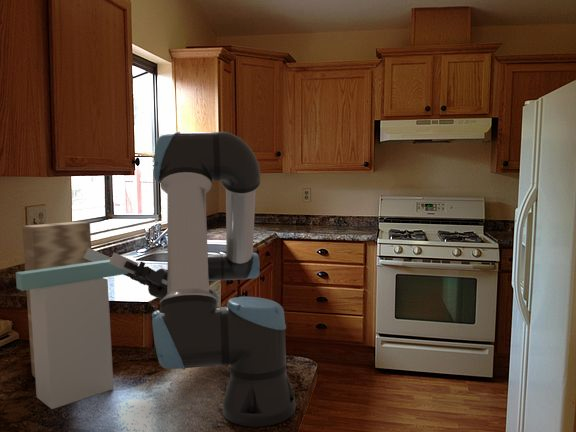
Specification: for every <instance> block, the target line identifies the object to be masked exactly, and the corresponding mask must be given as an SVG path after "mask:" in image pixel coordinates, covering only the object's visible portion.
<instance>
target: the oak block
mask: <svg viewBox="0 0 576 432" xmlns="http://www.w3.org/2000/svg"><path fill="white" fill-rule="evenodd" d="M21 227H22V239H23V240H22V242H23V257H24V259H23V260H24V271H30V270H37V269H44V268H52V267H59V266H66V265H74V264H81V263H88V262H92V261H89V260H87V259H85V258H83V257H84V255H85V253H86V251H87V249H88V248H91V249H92V237H91V222H89V221H88V222H87V221H86V222H85V221H67V222H56V223H54V222H53V223H43V224H32V225H22V226H21ZM26 303H27V317H28V318H27V319H28V335H29V348H30V364H31V366H30V367H31V375H32V376H33V377H34V378H35V363H34V348H33V333H32V317H31V302H30V290H26Z"/></svg>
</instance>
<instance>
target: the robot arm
mask: <svg viewBox="0 0 576 432" xmlns="http://www.w3.org/2000/svg"><path fill="white" fill-rule="evenodd" d="M153 176H154V177H153V178H154V181H155V182H156V183H159V184H160V188H161V190H162V191H163V192H164V193H166V194H167V199H166V200H167V205H166V206H167V217H166V219H167V226H166V227H167V228H166V229H167V233H166V234H167V246H166V247H167V251H166V252H167V268H163V267H162V268H159V269H158V270H155V269H152V268H150V267H149V266H145V265H146V263H145V262H144V261H140V262H139V263H138V262H136V261H134V260H133V259H129V258H127V257H126V256H123V255H121V254H119V253H117V252H113V253H112V255H111V257H110V256H108V255H105V254H103V253H102V252H100V251H97V250H94V249H93V248H92V247H91V248H88V249H87V251H86V253H85V255H84V257H83V258H85V259H87V260H89V261H92V262H95V261H103V260H110V262H109V264H111V265H113V266H116V267H118V268H120V269H122V270H125V271H127V272H128V274H123V275H122V276H124V277H125V276H126V277H129V278H130V280H133V281H136V282H138V283H139V284H140V285H144V286H147V290H148V294H149V295H150V296H152V297H154V298H156V299H159V300H160V302H159V310H158V309H156V310H154V311H153V312H152V313H151V317H152V320H151V323H152V333H153V334H152V335H153V339H154V346H155V352H156V356H157V360H158V362H159V365H160V366H161V367H162V368H164V369H165V370H176V369H177V370H178V369H180V370H181V369H182V370H186V369H189V368H190V369H191V368H203V367H204V368H205V367H216V366H217V367H218V366H229V370H230V374H229V379H228V382H227V385H226V390H225V393H224V397H223V399H222V414H223V416H224V417H225V419H226V420H227V421H229V422H231V423H233V424H236V425H238V426H243V427H259V428H260V427H261V428H262V427H270V426H273V425H277V424H280V423H283V422H285V421H286V420H288V419H290V418H291V417H293V415H294V414H295V412H296V405H297V404H296V396H295V393H294V390H293V388H292V385H291V381H290V379H289V376H288V374H287V361H286V360H287V353H286V349H287V348H286V329H287V325H286V320H285V319H286V318H285V310H284V308H283V306H282V305H281V304H280V303H278V302H276V301H274V300H272V299H268V298H263V297H257V296H238V297H237V296H236V297H231V298H229V300H228V301H227V304H226V306H218V304H219V297H218V294H216V292H214V290H212V289H210V282H215V281H216V282H218V281H235V280H249V279H257V278H258V277H259V275H260V258H259V257H260V256H259V254H258V253H257V252H254V237H255V236H254V235H255V234H254V233H255V212H256V192H257V191H256V190H258V189H259V187H260V185H261V169H260V165H259V162H258V158H257V157H256V154H255V152H253V150H252V148H251V147H250V146H249V145H248V143H246V142H245V141H244V140H243V139H242V138H241V137H239V136H237V135H235V134H234V133H232V132H228V131H227V132H226V131H207V132H206V131H205V132H204V131H203V132H200V131H199V132H198V131H197V132H181V131H174V132H166V133H162V134H161V135H159V136H158V138H157V140H156V144H155V148H154V155H153ZM220 181H221V185H222V187H223V188H224V189H225V220H226V221H225V222H226V223H225V226H226V227H225V230H226V231H225V234H226V235H225V236H226V237H225V239H226V242H225V243H226V245H225V246H226V253H224V254H223V253H222V254H220V253H219V254H209V252H208V250H209V248H208V228H207V227H208V226H207V225H208V224H207V202H206V201H207V198H206V194H207V193H208V192H209V191H210V190H211V189H212V187H213V183H212V182H220Z"/></svg>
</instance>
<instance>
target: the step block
mask: <svg viewBox="0 0 576 432" xmlns="http://www.w3.org/2000/svg"><path fill="white" fill-rule="evenodd" d="M108 281H109V280H108V279H107V278H106V277H104V278H98V279H92V280H86V281H80V282H74V283H67V284H61V285H55V286H49V287H43V288H37V289H30V302H31V317H32V333H33V348H34V363H35V377H34V378H35V391H36V398H37V399H38V400H40V401H41V402H42V403H43V404H45V405H46V407H49V408H50V409H51V410H53V409H56V408H57V409H58V408H60V407H62V406H66V405H69V404H72V403H75V402H78V401H80V400H81V401H82V400H85V399H87V398H91V397H93V396H96V395H99V394H103V393H106V392H108V391H112V390H114V372H113V371H114V370H113V356H112V355H113V353H112V337H111V336H112V335H111V318H110V316H111V315H110V301H109V298H110V297H109V282H108Z"/></svg>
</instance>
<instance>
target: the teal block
mask: <svg viewBox="0 0 576 432" xmlns="http://www.w3.org/2000/svg"><path fill="white" fill-rule="evenodd" d="M109 262H110V260H103V261H95V262H88V263H81V264H74V265H66V266H59V267H52V268H44V269H37V270H30V271H25V270H24V271H16V272H15V280H16V282H15V283H16V290H20V291H22V292H23V291H27V290H30V289H37V288H43V287H49V286H55V285H61V284H67V283H74V282H80V281H86V280H92V279H98V278H111V277H117V276H124V275H123V274H128V272H127V271H125V270H122V269H120V268H118V267H116V266H113V265H111V264H109Z"/></svg>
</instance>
